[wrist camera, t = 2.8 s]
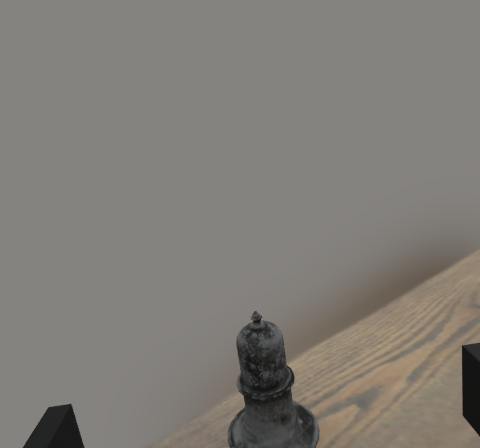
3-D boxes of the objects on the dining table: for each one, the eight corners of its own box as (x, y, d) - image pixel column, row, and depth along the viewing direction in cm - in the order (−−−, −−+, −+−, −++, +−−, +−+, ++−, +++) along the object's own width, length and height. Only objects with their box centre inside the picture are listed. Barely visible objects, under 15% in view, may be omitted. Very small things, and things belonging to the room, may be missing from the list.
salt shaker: (217, 489, 25) (185, 325, 22) (266, 427, 30) (244, 284, 27) (296, 536, 22) (270, 349, 19) (338, 459, 26) (323, 297, 23)
